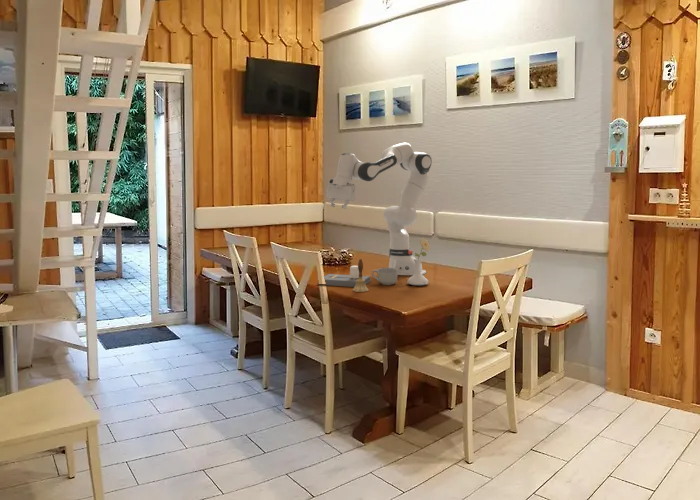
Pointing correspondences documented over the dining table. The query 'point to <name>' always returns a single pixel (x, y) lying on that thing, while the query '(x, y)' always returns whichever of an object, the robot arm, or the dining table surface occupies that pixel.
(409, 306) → the dining table surface
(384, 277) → the teacup
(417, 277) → the flower in vase
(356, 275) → the fader
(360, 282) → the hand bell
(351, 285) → the console
